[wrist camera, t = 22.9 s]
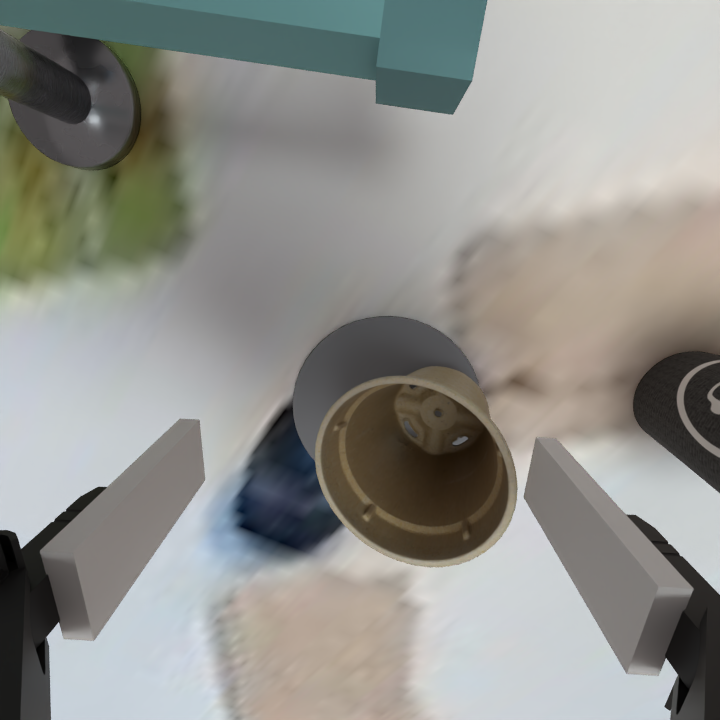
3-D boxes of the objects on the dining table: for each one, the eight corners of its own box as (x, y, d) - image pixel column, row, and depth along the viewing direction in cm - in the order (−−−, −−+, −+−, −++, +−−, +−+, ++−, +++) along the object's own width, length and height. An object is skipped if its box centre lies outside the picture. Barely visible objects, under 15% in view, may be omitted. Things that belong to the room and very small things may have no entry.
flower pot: (551, 393, 22) (568, 462, 15) (466, 502, 26) (443, 604, 18) (414, 313, 24) (364, 336, 17) (353, 425, 28) (288, 487, 20)
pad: (293, 311, 25) (292, 312, 25) (491, 321, 25) (493, 322, 25) (293, 483, 29) (292, 486, 28) (467, 494, 28) (468, 497, 28)
